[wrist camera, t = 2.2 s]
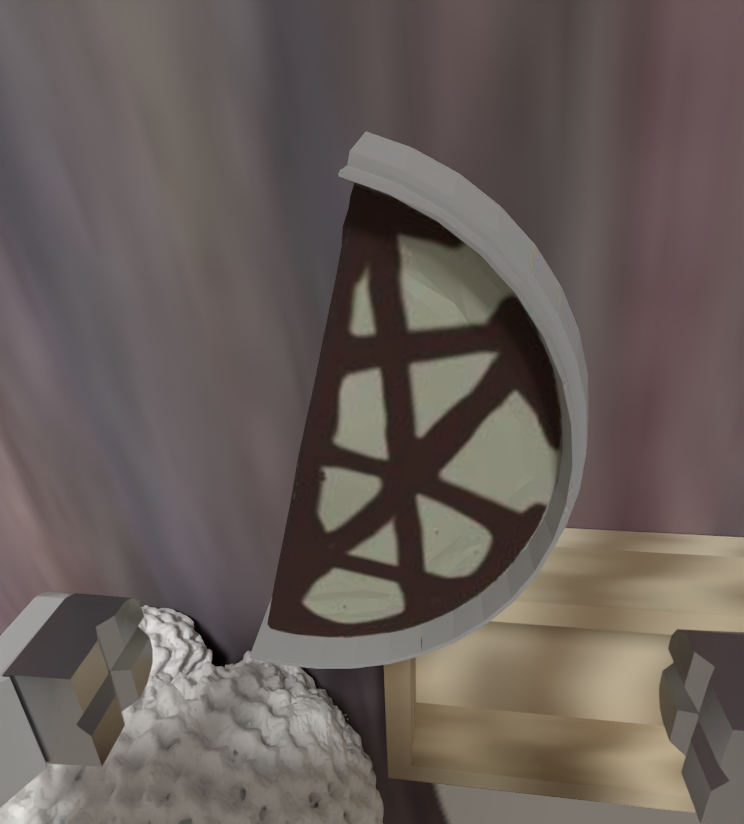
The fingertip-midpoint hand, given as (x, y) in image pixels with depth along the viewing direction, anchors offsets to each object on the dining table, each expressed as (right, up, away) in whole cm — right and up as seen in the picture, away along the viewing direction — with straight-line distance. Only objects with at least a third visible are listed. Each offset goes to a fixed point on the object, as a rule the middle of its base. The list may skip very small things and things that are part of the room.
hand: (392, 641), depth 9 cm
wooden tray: (+8, -6, +16) cm, 19 cm away
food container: (+2, +6, +11) cm, 13 cm away
